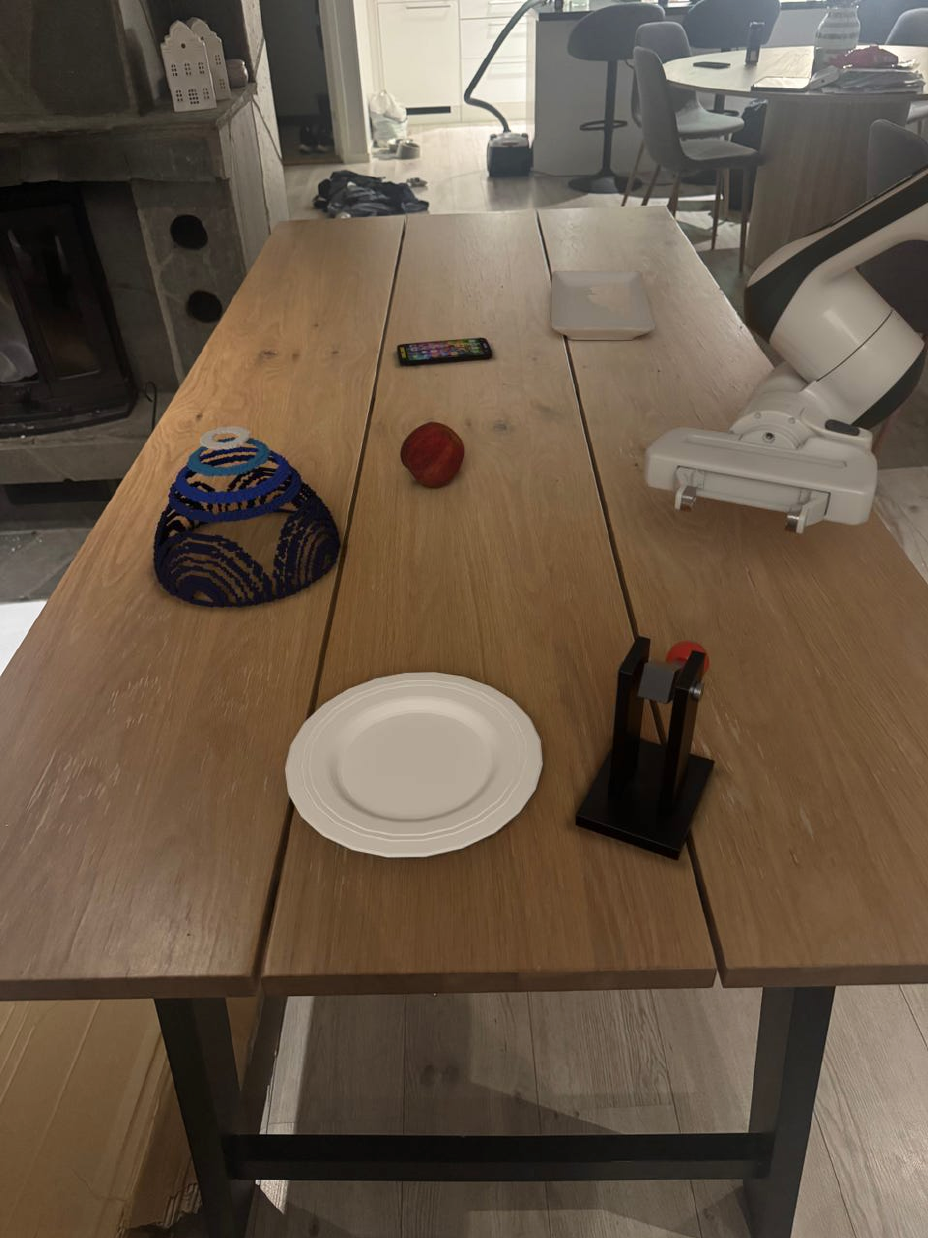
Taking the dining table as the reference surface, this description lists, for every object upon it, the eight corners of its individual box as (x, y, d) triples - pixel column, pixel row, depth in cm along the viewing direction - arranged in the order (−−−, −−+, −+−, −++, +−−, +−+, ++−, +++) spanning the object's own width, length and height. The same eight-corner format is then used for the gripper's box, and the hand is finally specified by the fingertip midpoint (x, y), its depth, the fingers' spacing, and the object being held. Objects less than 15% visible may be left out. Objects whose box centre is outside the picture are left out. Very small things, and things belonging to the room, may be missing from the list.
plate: (519, 675, 85) (519, 659, 84) (566, 854, 69) (567, 837, 67) (291, 699, 84) (288, 683, 82) (283, 889, 67) (279, 872, 66)
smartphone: (493, 353, 147) (399, 361, 146) (493, 359, 148) (400, 367, 146) (486, 336, 154) (395, 344, 152) (486, 342, 154) (396, 349, 153)
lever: (666, 673, 77) (675, 633, 77) (707, 684, 76) (716, 644, 75) (626, 700, 65) (637, 654, 65) (673, 714, 64) (685, 667, 63)
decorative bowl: (288, 621, 93) (265, 495, 85) (120, 590, 99) (83, 469, 90) (367, 523, 108) (354, 407, 100) (217, 501, 114) (193, 390, 105)
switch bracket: (618, 741, 78) (630, 609, 70) (713, 771, 75) (737, 635, 67) (575, 825, 71) (582, 688, 63) (677, 861, 68) (699, 722, 60)
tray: (640, 287, 175) (642, 268, 173) (654, 347, 150) (656, 326, 148) (550, 288, 177) (551, 269, 174) (549, 347, 151) (550, 326, 149)
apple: (457, 500, 112) (454, 439, 107) (395, 495, 113) (390, 435, 109) (470, 471, 118) (468, 412, 113) (411, 467, 119) (406, 409, 114)
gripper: (669, 400, 91) (623, 459, 81) (891, 434, 83) (870, 504, 73) (663, 459, 95) (618, 522, 85) (876, 496, 87) (853, 570, 77)
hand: (737, 514), depth 79 cm, fingers open, 8 cm apart
